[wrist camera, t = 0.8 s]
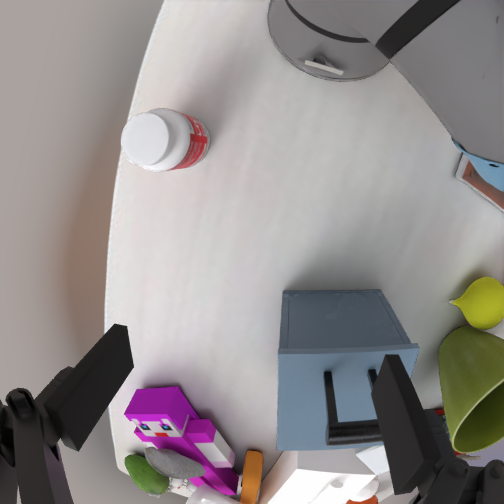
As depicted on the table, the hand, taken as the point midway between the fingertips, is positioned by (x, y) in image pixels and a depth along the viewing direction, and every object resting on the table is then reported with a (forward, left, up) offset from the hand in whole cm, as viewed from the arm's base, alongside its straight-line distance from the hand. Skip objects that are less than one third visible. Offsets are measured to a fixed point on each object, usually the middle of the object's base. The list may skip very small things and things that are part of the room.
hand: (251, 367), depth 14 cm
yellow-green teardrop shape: (+21, +27, -19) cm, 38 cm away
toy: (+45, -31, -21) cm, 59 cm away
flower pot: (+26, +20, -23) cm, 40 cm away
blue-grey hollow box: (+15, +1, -23) cm, 28 cm away
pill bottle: (-15, -5, -23) cm, 28 cm away
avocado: (+41, -42, -17) cm, 61 cm away
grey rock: (+26, -29, -17) cm, 43 cm away
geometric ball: (+57, -2, -18) cm, 60 cm away
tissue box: (+46, -12, -23) cm, 53 cm away
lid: (+15, +2, -10) cm, 18 cm away
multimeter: (+44, -21, -19) cm, 52 cm away
